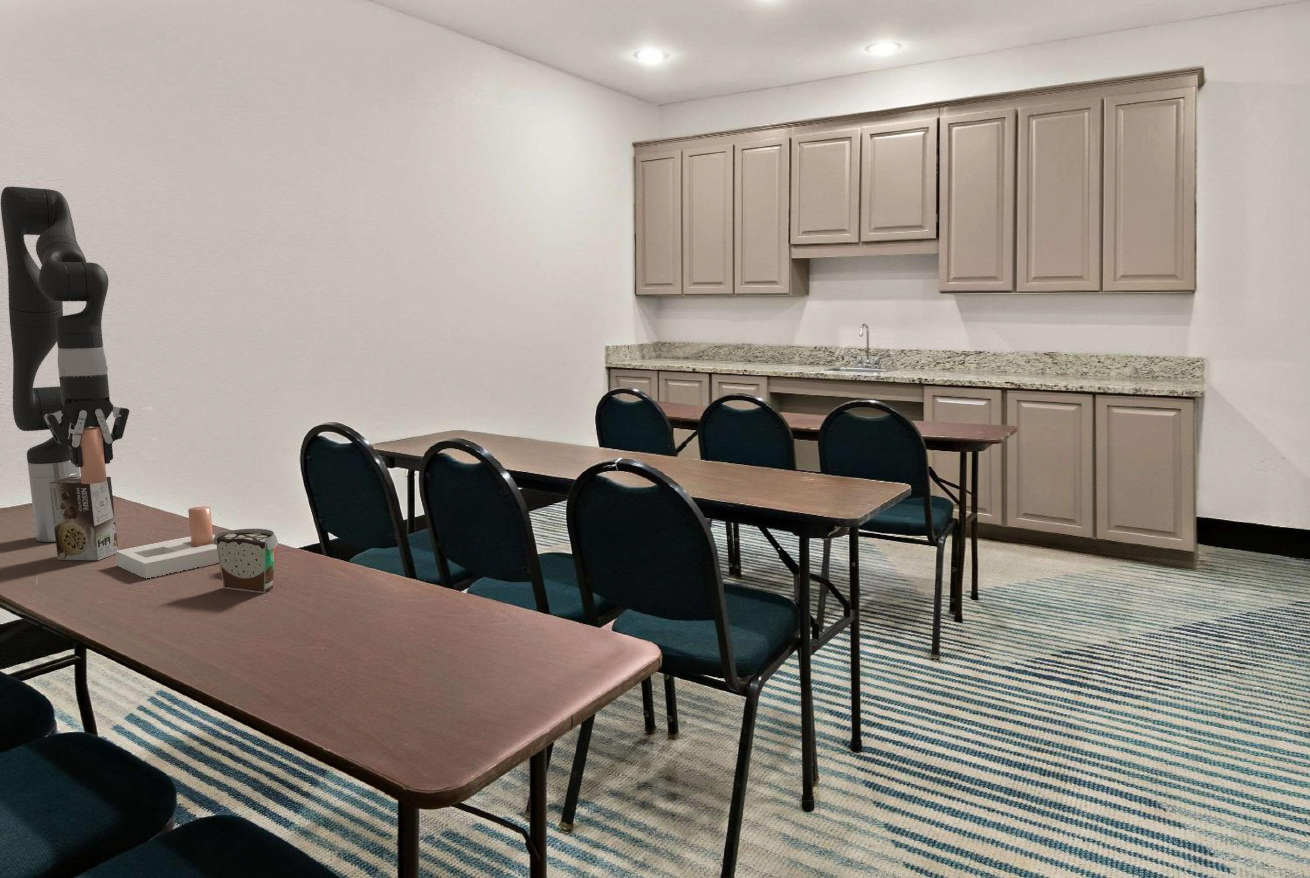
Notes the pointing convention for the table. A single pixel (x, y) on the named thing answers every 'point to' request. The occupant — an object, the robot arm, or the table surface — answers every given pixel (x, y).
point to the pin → (92, 456)
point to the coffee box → (83, 519)
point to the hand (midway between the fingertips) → (92, 464)
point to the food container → (247, 559)
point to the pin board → (174, 550)
